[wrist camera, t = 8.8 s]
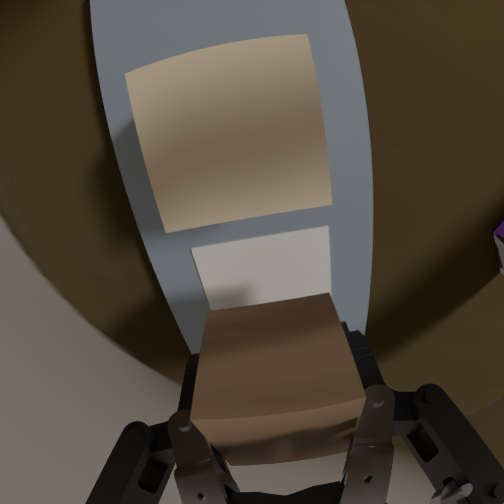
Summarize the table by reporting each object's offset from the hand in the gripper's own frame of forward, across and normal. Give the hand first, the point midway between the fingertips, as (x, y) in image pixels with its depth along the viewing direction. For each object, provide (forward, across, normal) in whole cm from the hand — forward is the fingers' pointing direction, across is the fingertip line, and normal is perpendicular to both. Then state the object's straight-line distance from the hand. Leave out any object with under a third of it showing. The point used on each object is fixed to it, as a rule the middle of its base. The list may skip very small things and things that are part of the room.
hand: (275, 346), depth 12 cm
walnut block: (0, 0, 0) cm, 0 cm away
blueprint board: (+5, 0, -7) cm, 9 cm away
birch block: (+4, 0, -9) cm, 10 cm away
